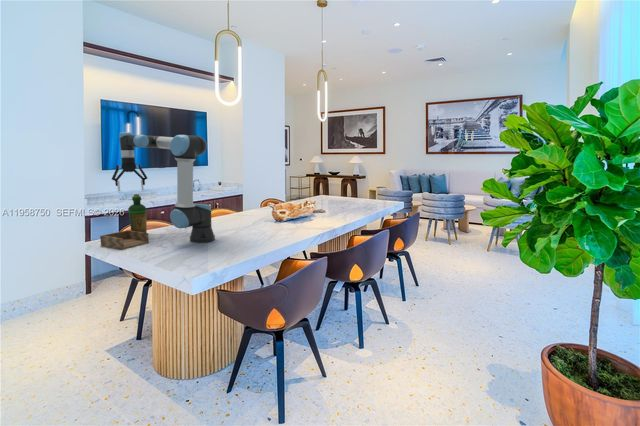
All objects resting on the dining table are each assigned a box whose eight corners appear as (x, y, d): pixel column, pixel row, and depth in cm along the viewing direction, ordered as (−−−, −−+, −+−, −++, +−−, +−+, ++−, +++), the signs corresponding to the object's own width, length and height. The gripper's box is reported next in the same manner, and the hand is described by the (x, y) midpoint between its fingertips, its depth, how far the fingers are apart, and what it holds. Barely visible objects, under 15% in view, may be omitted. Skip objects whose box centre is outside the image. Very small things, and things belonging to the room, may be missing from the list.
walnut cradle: (148, 243, 222) (148, 233, 221) (122, 249, 206) (121, 239, 205) (128, 239, 230) (127, 230, 229) (101, 246, 213) (100, 235, 212)
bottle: (141, 239, 231) (138, 195, 226) (126, 238, 233) (123, 195, 228) (151, 236, 241) (149, 193, 236) (137, 235, 243) (134, 193, 239)
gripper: (150, 157, 238) (152, 189, 241) (107, 157, 230) (110, 191, 233) (149, 156, 231) (151, 190, 234) (104, 157, 223) (107, 192, 226)
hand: (131, 190), depth 234 cm, fingers open, 13 cm apart
